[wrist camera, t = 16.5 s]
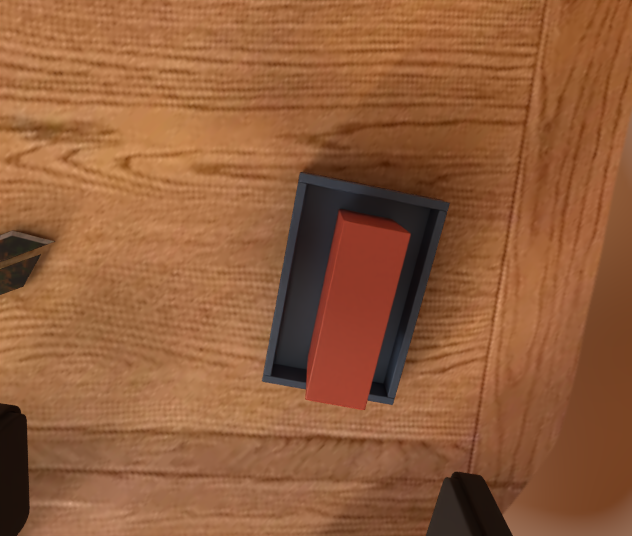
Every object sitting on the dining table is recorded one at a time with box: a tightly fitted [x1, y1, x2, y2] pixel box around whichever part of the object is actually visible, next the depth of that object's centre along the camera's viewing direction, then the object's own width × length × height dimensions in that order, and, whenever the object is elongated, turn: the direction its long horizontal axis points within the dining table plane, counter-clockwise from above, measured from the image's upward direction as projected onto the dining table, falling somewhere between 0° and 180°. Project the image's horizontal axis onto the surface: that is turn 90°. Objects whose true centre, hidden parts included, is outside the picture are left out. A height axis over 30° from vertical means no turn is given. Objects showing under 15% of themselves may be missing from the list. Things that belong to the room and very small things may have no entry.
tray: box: [262, 172, 450, 405], centre depth 30 cm, size 16×10×2 cm, turn 169°
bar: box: [305, 209, 411, 410], centre depth 28 cm, size 4×12×6 cm, turn 169°
